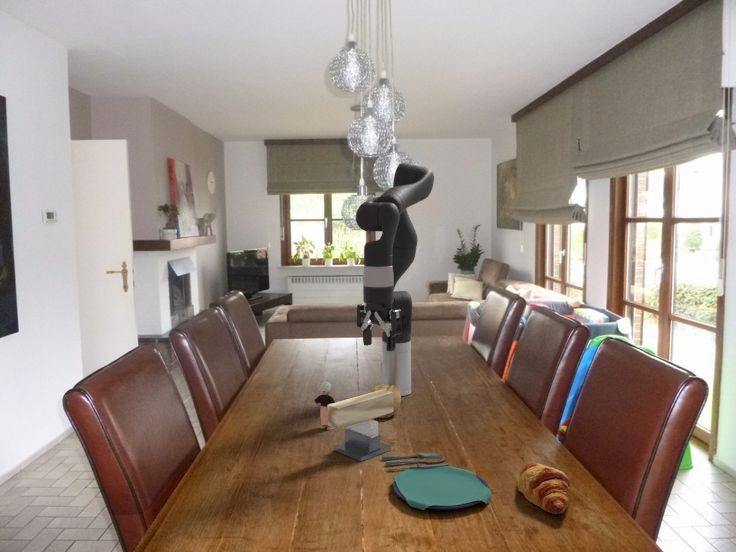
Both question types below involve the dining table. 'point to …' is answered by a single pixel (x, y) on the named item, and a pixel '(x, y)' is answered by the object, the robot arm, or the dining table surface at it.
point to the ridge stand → (362, 441)
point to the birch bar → (360, 409)
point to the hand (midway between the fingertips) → (378, 347)
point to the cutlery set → (437, 484)
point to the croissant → (545, 487)
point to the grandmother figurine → (324, 404)
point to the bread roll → (395, 397)
